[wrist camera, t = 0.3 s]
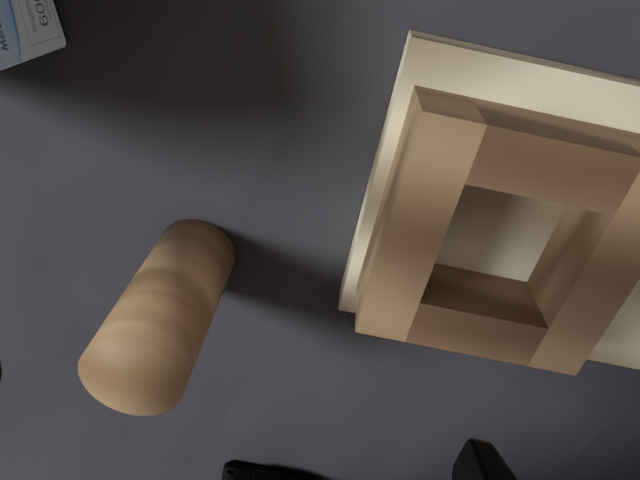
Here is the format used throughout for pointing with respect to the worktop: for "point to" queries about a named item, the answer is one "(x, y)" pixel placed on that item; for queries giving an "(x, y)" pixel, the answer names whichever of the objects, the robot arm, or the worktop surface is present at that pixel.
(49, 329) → the worktop surface
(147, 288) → the peg
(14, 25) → the light bulb box
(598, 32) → the worktop surface
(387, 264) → the awning socket
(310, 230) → the worktop surface
